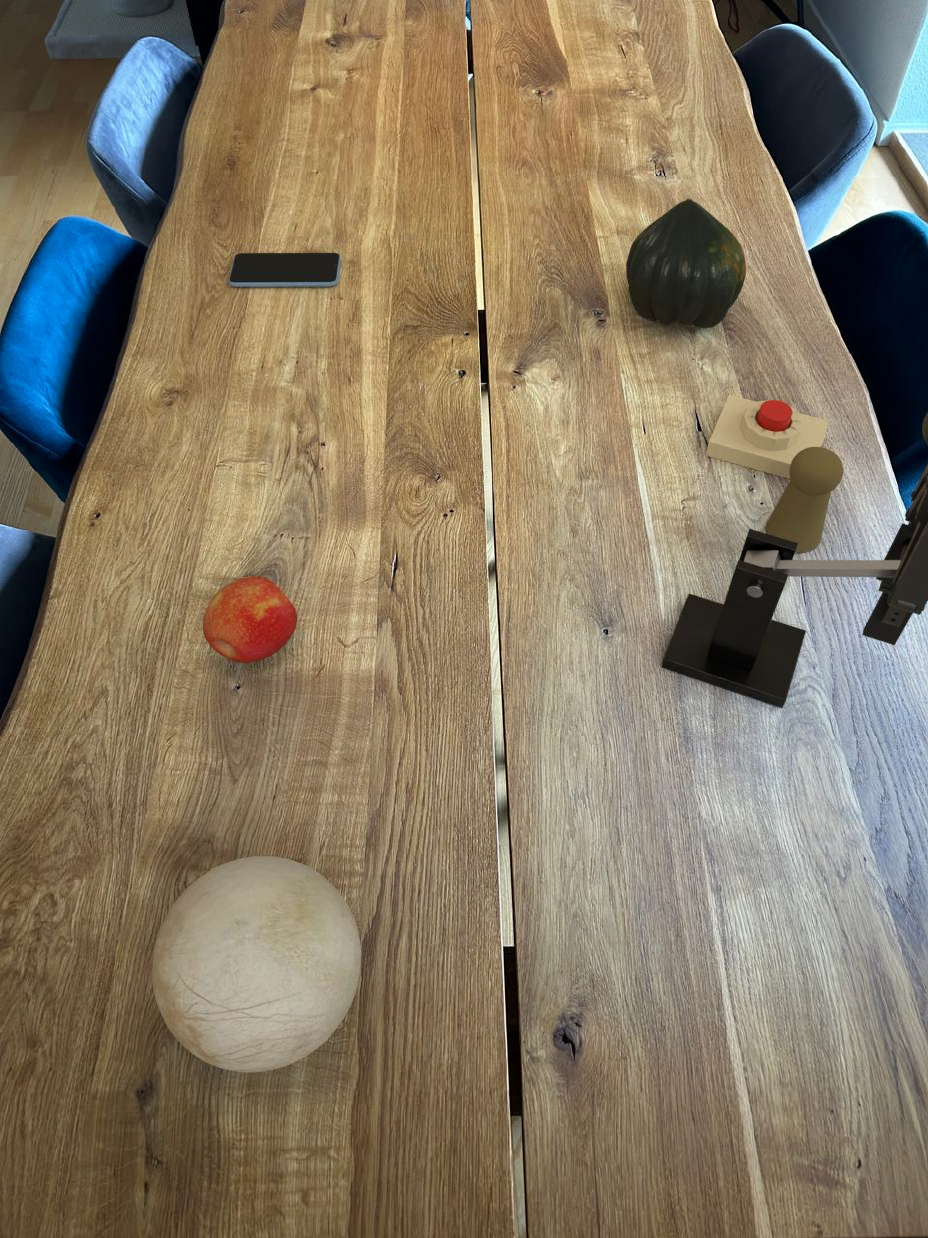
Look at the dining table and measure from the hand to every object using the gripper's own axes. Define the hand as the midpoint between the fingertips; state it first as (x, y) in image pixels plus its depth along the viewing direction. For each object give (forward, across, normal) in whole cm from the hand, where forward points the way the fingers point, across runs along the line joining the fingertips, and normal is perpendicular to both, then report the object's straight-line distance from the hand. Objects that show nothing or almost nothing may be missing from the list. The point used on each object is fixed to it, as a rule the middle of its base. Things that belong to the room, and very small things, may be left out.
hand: (885, 607), depth 88 cm
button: (+9, -31, -15) cm, 36 cm away
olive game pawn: (+13, -18, -9) cm, 24 cm away
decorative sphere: (+13, +47, -36) cm, 60 cm away
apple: (+13, +18, -55) cm, 59 cm away
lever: (-1, 0, -5) cm, 5 cm away
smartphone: (+13, -39, -84) cm, 93 cm away
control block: (+13, -31, -15) cm, 37 cm away
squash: (+13, -52, -32) cm, 62 cm away
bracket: (+13, 0, -11) cm, 17 cm away
